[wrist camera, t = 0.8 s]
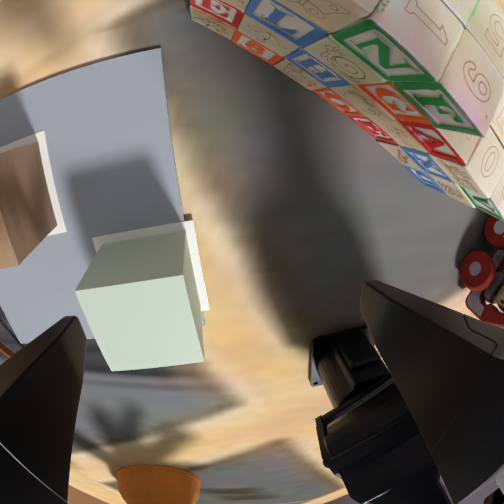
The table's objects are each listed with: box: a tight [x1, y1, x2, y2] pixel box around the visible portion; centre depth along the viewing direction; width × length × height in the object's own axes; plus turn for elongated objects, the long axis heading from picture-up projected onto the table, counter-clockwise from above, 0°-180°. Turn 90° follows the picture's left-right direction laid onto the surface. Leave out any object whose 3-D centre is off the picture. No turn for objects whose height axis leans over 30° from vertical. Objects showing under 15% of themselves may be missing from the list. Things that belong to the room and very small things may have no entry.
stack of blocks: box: [190, 0, 504, 222], centre depth 12 cm, size 21×6×12 cm, turn 59°
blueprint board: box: [0, 48, 210, 344], centre depth 19 cm, size 20×19×1 cm
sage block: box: [75, 230, 204, 371], centre depth 19 cm, size 6×6×6 cm
